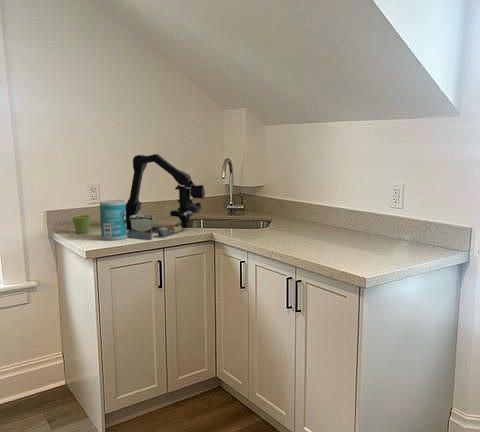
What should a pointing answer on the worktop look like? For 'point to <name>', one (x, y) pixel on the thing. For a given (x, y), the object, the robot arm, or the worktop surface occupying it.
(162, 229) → the clip rail
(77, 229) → the plant pot
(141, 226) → the food container
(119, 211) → the food can
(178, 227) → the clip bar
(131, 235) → the bracket
